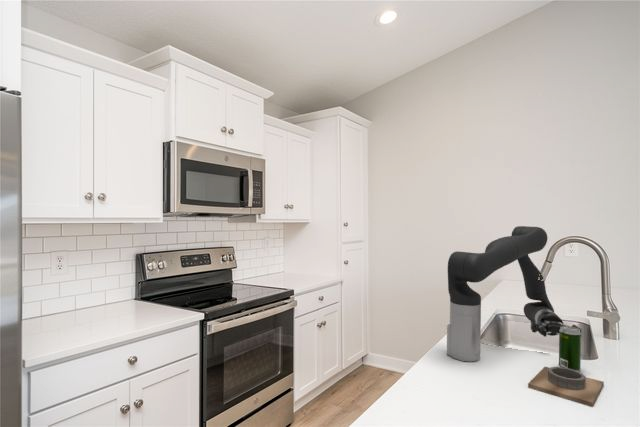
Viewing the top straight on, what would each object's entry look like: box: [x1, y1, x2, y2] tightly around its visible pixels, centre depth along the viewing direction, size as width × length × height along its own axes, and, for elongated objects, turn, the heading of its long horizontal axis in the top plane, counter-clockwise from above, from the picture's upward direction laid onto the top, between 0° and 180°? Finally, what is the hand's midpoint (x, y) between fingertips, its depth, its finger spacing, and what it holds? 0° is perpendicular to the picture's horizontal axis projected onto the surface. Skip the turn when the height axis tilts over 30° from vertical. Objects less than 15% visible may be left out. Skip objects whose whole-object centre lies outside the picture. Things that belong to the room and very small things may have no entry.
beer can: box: [558, 325, 582, 372], centre depth 113 cm, size 5×5×12 cm
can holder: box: [527, 366, 605, 408], centre depth 101 cm, size 14×16×4 cm
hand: (560, 335), depth 122 cm, fingers open, 8 cm apart
